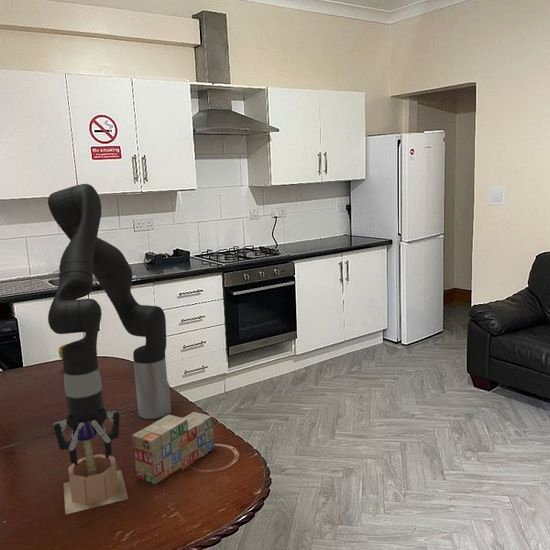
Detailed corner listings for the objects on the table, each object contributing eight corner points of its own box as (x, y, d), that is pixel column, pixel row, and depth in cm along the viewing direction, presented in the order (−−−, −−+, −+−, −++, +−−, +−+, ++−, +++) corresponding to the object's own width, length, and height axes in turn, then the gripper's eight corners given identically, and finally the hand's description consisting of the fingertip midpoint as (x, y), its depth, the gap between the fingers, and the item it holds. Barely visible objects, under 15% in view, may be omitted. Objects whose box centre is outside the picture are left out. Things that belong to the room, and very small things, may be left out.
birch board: (121, 474, 133) (121, 469, 133) (128, 503, 121) (128, 498, 121) (64, 487, 128) (63, 483, 128) (66, 519, 117) (65, 514, 116)
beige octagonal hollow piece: (115, 474, 131) (112, 451, 130) (120, 496, 122) (117, 471, 121) (70, 484, 127) (67, 461, 126) (72, 508, 118) (69, 483, 117)
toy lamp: (97, 493, 122) (87, 424, 118) (78, 492, 123) (67, 423, 119) (107, 481, 126) (98, 413, 123) (89, 479, 127) (79, 413, 124)
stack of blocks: (196, 443, 147) (193, 400, 145) (214, 449, 144) (211, 405, 141) (136, 482, 130) (131, 434, 127) (155, 490, 126) (150, 440, 124)
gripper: (115, 377, 126) (122, 445, 129) (48, 389, 121) (56, 459, 124) (119, 389, 119) (126, 460, 122) (48, 402, 114) (57, 476, 117)
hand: (91, 459), depth 123 cm, fingers open, 6 cm apart
